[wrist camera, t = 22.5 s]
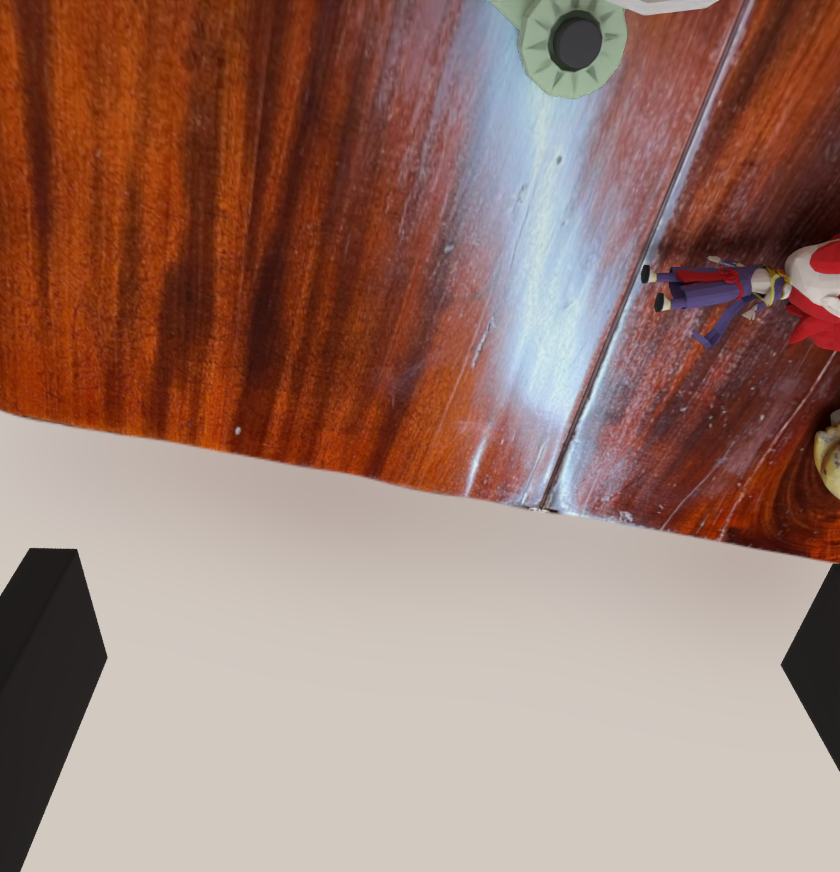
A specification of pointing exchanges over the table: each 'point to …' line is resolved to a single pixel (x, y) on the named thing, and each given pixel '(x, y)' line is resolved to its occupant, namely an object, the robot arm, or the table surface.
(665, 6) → the plastic cup
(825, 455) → the decorative figurine
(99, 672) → the robot arm
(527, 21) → the scale
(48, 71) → the table surface
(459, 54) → the table surface
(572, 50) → the tare button
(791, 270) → the figurine
